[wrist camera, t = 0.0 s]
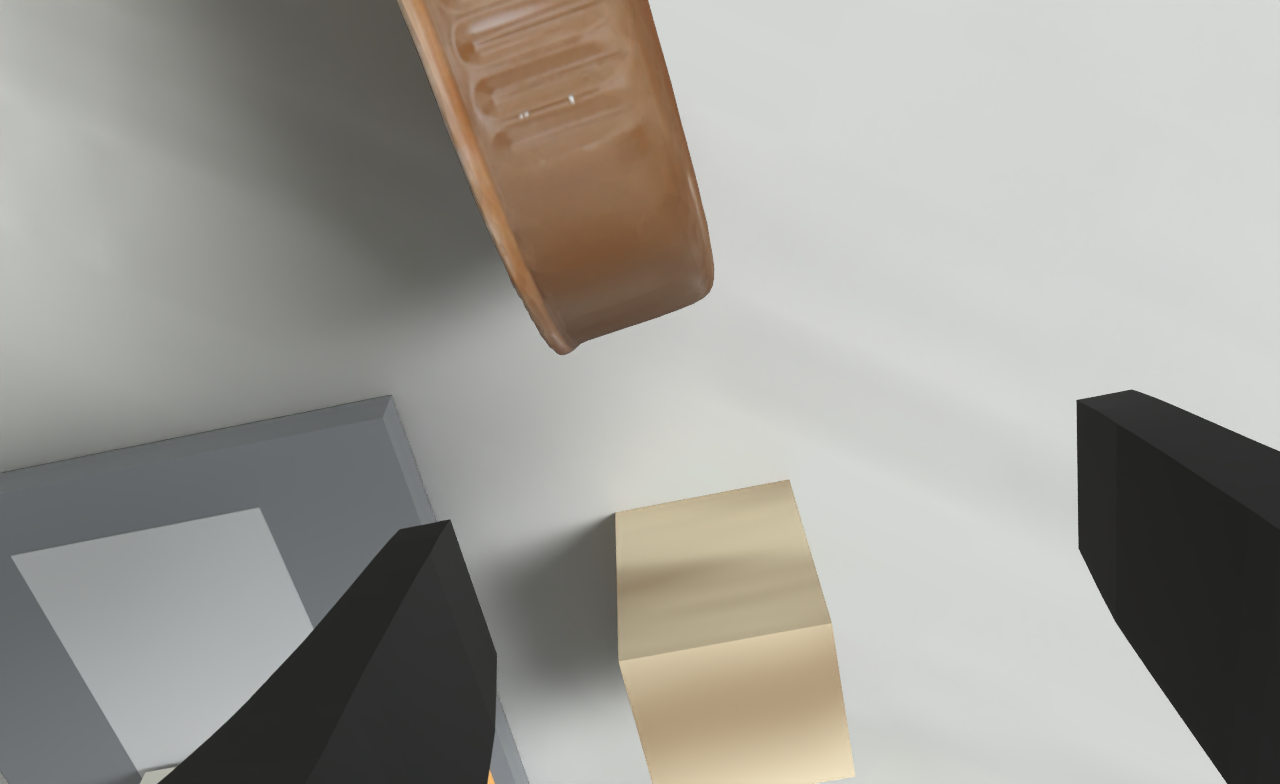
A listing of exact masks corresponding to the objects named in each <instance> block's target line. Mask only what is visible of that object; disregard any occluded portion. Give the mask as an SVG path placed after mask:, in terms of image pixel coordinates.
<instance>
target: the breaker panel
mask: <svg viewBox="0 0 1280 784" xmlns="http://www.w3.org/2000/svg"><path fill="white" fill-rule="evenodd" d="M435 522H436V519H435V516H434V514H433V511H432V508H431V505H430V502H429V500H428V497H427V494H426V491H425V488H424V485H423V483H422V480H421V477H420V474H419V471H418V469H417V466H416V463H415V460H414V457H413V454H412V452H411V449H410V446H409V443H408V440H407V438H406V435H405V432H404V429H403V426H402V423H401V421H400V418H399V415H398V412H397V409H396V407H395V404H394V401H393V398H392V395H389V396H384V397H379V398H374V399H369V400H364V401H359V402H354V403H349V404H344V405H339V406H334V407H329V408H324V409H319V410H314V411H309V412H304V413H299V414H294V415H289V416H284V417H279V418H274V419H269V420H264V421H259V422H254V423H249V424H244V425H239V426H234V427H229V428H224V429H219V430H214V431H209V432H204V433H199V434H194V435H189V436H184V437H179V438H174V439H169V440H164V441H159V442H154V443H149V444H144V445H139V446H134V447H129V448H124V449H119V450H114V451H109V452H104V453H99V454H94V455H89V456H84V457H79V458H74V459H69V460H64V461H59V462H54V463H49V464H44V465H39V466H34V467H29V468H24V469H19V470H14V471H9V472H4V473H0V771H1V773H2V774H3V776H4V777H5V779H6V780H7V782H8V783H9V784H140V782H141V780H142V778H143V776H144V774H145V772H150V771H156V770H161V769H167V768H172V767H177V766H178V765H179V764H180V763H182V762H183V761H184V760H185V759H186V758H187V757H188V756H189V755H191V754H192V753H193V752H194V751H195V750H196V749H197V748H198V747H200V746H201V745H202V744H203V743H204V742H205V741H206V740H207V739H208V738H210V737H211V736H212V735H213V734H214V733H215V732H216V731H217V730H218V729H219V728H220V727H221V726H222V725H223V724H224V723H225V722H227V721H228V720H229V719H230V718H231V717H232V716H233V715H234V714H235V713H236V712H237V711H238V710H239V709H240V708H241V707H242V706H243V705H244V704H245V703H246V702H247V701H248V700H249V699H250V698H251V697H252V695H253V694H254V693H255V692H256V691H257V690H258V689H259V688H260V687H261V686H262V685H263V684H264V683H265V682H266V681H267V680H268V678H269V677H270V676H271V675H272V674H273V673H274V672H275V671H276V670H277V669H278V668H279V667H280V666H281V665H282V664H283V662H284V661H285V660H286V659H287V658H288V657H289V656H290V655H291V654H292V653H293V652H294V651H295V650H296V649H297V648H298V646H299V645H300V644H301V643H302V642H303V641H304V640H305V639H306V638H307V637H308V635H309V634H310V633H311V632H312V631H313V630H314V628H315V627H316V626H317V625H318V624H319V623H320V621H321V620H322V619H323V618H324V617H325V615H326V614H327V613H328V612H329V611H330V610H331V608H332V607H333V606H334V605H335V604H336V603H337V601H338V600H339V599H340V598H341V597H342V596H343V594H344V593H345V592H346V591H347V590H348V588H349V587H350V586H351V585H352V584H353V582H354V581H355V580H356V579H357V578H358V576H359V575H360V574H361V573H362V572H363V570H364V569H365V568H366V567H367V566H368V564H369V563H370V562H371V561H372V560H373V558H374V557H375V556H376V555H377V554H378V553H379V551H380V550H381V549H382V548H383V547H384V546H385V544H386V543H387V542H388V541H389V540H390V539H391V538H392V537H393V536H394V535H395V533H396V532H397V531H398V530H399V529H403V528H408V527H414V526H419V525H424V524H429V523H435ZM487 784H529V781H528V779H527V776H526V773H525V770H524V767H523V764H522V762H521V759H520V756H519V753H518V750H517V748H516V745H515V742H514V739H513V736H512V733H511V731H510V728H509V725H508V722H507V719H506V717H505V714H504V711H503V708H502V705H501V702H500V700H499V697H498V694H497V691H496V721H495V736H494V743H493V750H492V757H491V764H490V770H489V777H488V783H487Z"/></svg>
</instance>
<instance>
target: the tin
mask: <svg viewBox="0 0 1280 784" xmlns="http://www.w3.org/2000/svg"><path fill="white" fill-rule="evenodd" d="M397 3H398V5H399V8H400V10H401V13H402V15H403V18H404V20H405V22H406V25H407V27H408V30H409V32H410V35H411V37H412V40H413V42H414V45H415V47H416V50H417V52H418V55H419V57H420V60H421V62H422V65H423V68H424V70H425V73H426V76H427V79H428V82H429V84H430V87H431V90H432V92H433V95H434V97H435V99H436V102H437V104H438V107H439V110H440V113H441V115H442V118H443V121H444V123H445V126H446V128H447V131H448V133H449V136H450V138H451V141H452V144H453V146H454V149H455V151H456V154H457V156H458V159H459V161H460V164H461V166H462V169H463V172H464V174H465V177H466V179H467V182H468V184H469V187H470V189H471V192H472V194H473V197H474V199H475V202H476V204H477V206H478V209H479V211H480V214H481V216H482V218H483V220H484V222H485V225H486V227H487V229H488V231H489V233H490V236H491V238H492V240H493V242H494V245H495V247H496V249H497V251H498V253H499V255H500V257H501V259H502V261H503V263H504V265H505V268H506V270H507V272H508V274H509V277H510V279H511V282H512V284H513V286H514V288H515V289H516V291H517V293H518V296H519V297H520V298H521V299H522V301H523V303H524V306H525V308H526V309H527V311H528V312H529V315H530V317H531V319H532V321H533V322H534V323H535V325H536V327H537V329H538V331H539V333H540V335H541V336H542V337H543V339H544V340H545V341H546V343H547V344H548V345H549V347H550V348H552V349H553V350H554V351H555V352H556V353H558V354H559V355H565V354H568V353H570V352H572V351H573V350H574V349H575V348H576V347H577V346H579V345H580V344H581V343H583V342H585V341H588V340H591V339H594V338H597V337H600V336H603V335H606V334H609V333H612V332H615V331H618V330H621V329H624V328H627V327H630V326H633V325H636V324H639V323H642V322H645V321H648V320H651V319H654V318H657V317H660V316H663V315H665V314H668V313H671V312H673V311H676V310H679V309H681V308H684V307H686V306H689V305H691V304H694V303H695V302H697V301H699V300H701V299H702V298H704V297H705V296H706V295H707V294H708V293H709V292H710V290H711V288H712V286H713V280H714V263H713V256H712V249H711V244H710V239H709V232H708V226H707V221H706V217H705V213H704V209H703V206H702V202H701V197H700V193H699V188H698V184H697V180H696V176H695V173H694V169H693V165H692V161H691V157H690V153H689V150H688V146H687V142H686V138H685V135H684V131H683V128H682V124H681V120H680V116H679V112H678V108H677V104H676V100H675V96H674V92H673V88H672V84H671V81H670V77H669V74H668V70H667V66H666V63H665V59H664V56H663V52H662V49H661V45H660V42H659V38H658V35H657V31H656V27H655V24H654V20H653V17H652V13H651V9H650V6H649V2H648V0H397Z"/></svg>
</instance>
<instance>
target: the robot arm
mask: <svg viewBox="0 0 1280 784" xmlns="http://www.w3.org/2000/svg"><path fill="white" fill-rule="evenodd" d="M1077 464H1078V536H1079V550H1080V552H1081V554H1082V556H1083V558H1084V560H1085V562H1086V564H1087V567H1088V569H1089V571H1090V573H1091V575H1092V577H1093V579H1094V581H1095V583H1096V585H1097V587H1098V589H1099V591H1100V593H1101V595H1102V597H1103V599H1104V601H1105V603H1106V605H1107V606H1108V608H1109V610H1110V612H1111V614H1112V616H1113V618H1114V620H1115V622H1116V623H1117V625H1118V626H1119V628H1120V629H1121V631H1122V632H1123V634H1124V635H1125V637H1126V638H1127V640H1128V641H1129V643H1130V644H1131V646H1132V647H1133V649H1134V650H1135V652H1136V653H1137V655H1138V656H1139V657H1140V659H1141V660H1142V662H1143V663H1144V665H1145V666H1146V668H1147V669H1148V671H1149V672H1150V673H1151V675H1152V676H1153V678H1154V679H1155V681H1156V682H1157V684H1158V685H1159V686H1160V688H1161V689H1162V691H1163V692H1164V694H1165V695H1166V697H1167V698H1168V699H1169V701H1170V702H1171V704H1172V705H1173V707H1174V708H1175V709H1176V711H1177V712H1178V714H1179V715H1180V717H1181V718H1182V719H1183V721H1184V722H1185V724H1186V725H1187V727H1188V728H1189V729H1190V731H1191V732H1192V734H1193V735H1194V737H1195V738H1196V740H1197V741H1198V742H1199V744H1200V745H1201V747H1202V748H1203V750H1204V751H1205V752H1206V754H1207V755H1208V757H1209V758H1210V760H1211V761H1212V762H1213V764H1214V765H1215V767H1216V768H1217V770H1218V771H1219V772H1220V774H1221V775H1222V777H1223V778H1224V780H1225V781H1226V783H1227V784H1280V451H1277V450H1275V449H1273V448H1270V447H1268V446H1266V445H1263V444H1261V443H1258V442H1256V441H1254V440H1252V439H1249V438H1247V437H1245V436H1242V435H1240V434H1238V433H1235V432H1233V431H1231V430H1229V429H1226V428H1224V427H1222V426H1219V425H1217V424H1215V423H1213V422H1210V421H1208V420H1206V419H1204V418H1201V417H1199V416H1197V415H1194V414H1192V413H1190V412H1188V411H1185V410H1183V409H1181V408H1178V407H1176V406H1174V405H1171V404H1169V403H1166V402H1164V401H1162V400H1159V399H1157V398H1154V397H1151V396H1149V395H1146V394H1143V393H1141V392H1138V391H1135V390H1127V391H1122V392H1117V393H1112V394H1106V395H1101V396H1096V397H1091V398H1085V399H1080V400H1077ZM496 674H497V653H496V651H495V648H494V645H493V642H492V639H491V636H490V633H489V630H488V627H487V625H486V622H485V619H484V616H483V613H482V610H481V607H480V604H479V601H478V599H477V596H476V593H475V590H474V587H473V584H472V581H471V578H470V575H469V573H468V570H467V567H466V564H465V561H464V558H463V555H462V552H461V549H460V547H459V544H458V541H457V538H456V535H455V532H454V529H453V526H452V523H451V521H450V520H445V521H440V522H435V523H429V524H424V525H419V526H414V527H408V528H403V529H399V530H398V531H397V532H396V533H395V535H394V536H393V537H392V538H391V539H390V540H389V541H388V542H387V543H386V544H385V546H384V547H383V548H382V549H381V550H380V551H379V553H378V554H377V555H376V556H375V557H374V558H373V560H372V561H371V562H370V563H369V564H368V566H367V567H366V568H365V569H364V570H363V572H362V573H361V574H360V575H359V576H358V578H357V579H356V580H355V581H354V582H353V584H352V585H351V586H350V587H349V588H348V590H347V591H346V592H345V593H344V594H343V596H342V597H341V598H340V599H339V600H338V601H337V603H336V604H335V605H334V606H333V607H332V608H331V610H330V611H329V612H328V613H327V614H326V615H325V617H324V618H323V619H322V620H321V621H320V623H319V624H318V625H317V626H316V627H315V628H314V630H313V631H312V632H311V633H310V634H309V635H308V637H307V638H306V639H305V640H304V641H303V642H302V643H301V644H300V645H299V646H298V648H297V649H296V650H295V651H294V652H293V653H292V654H291V655H290V656H289V657H288V658H287V659H286V660H285V661H284V662H283V664H282V665H281V666H280V667H279V668H278V669H277V670H276V671H275V672H274V673H273V674H272V675H271V676H270V677H269V678H268V680H267V681H266V682H265V683H264V684H263V685H262V686H261V687H260V688H259V689H258V690H257V691H256V692H255V693H254V694H253V695H252V697H251V698H250V699H249V700H248V701H247V702H246V703H245V704H244V705H243V706H242V707H241V708H240V709H239V710H238V711H237V712H236V713H235V714H234V715H233V716H232V717H231V718H230V719H229V720H228V721H227V722H225V723H224V724H223V725H222V726H221V727H220V728H219V729H218V730H217V731H216V732H215V733H214V734H213V735H212V736H211V737H210V738H208V739H207V740H206V741H205V742H204V743H203V744H202V745H201V746H200V747H198V748H197V749H196V750H195V751H194V752H193V753H192V754H191V755H189V756H188V757H187V758H186V759H185V760H184V761H183V762H182V763H180V764H179V765H178V766H177V767H176V768H175V769H174V770H173V771H171V772H170V773H169V774H168V775H167V776H166V777H164V778H163V779H162V780H161V781H160V782H158V783H157V784H487V783H488V777H489V770H490V764H491V757H492V750H493V743H494V736H495V721H496Z"/></svg>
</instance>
